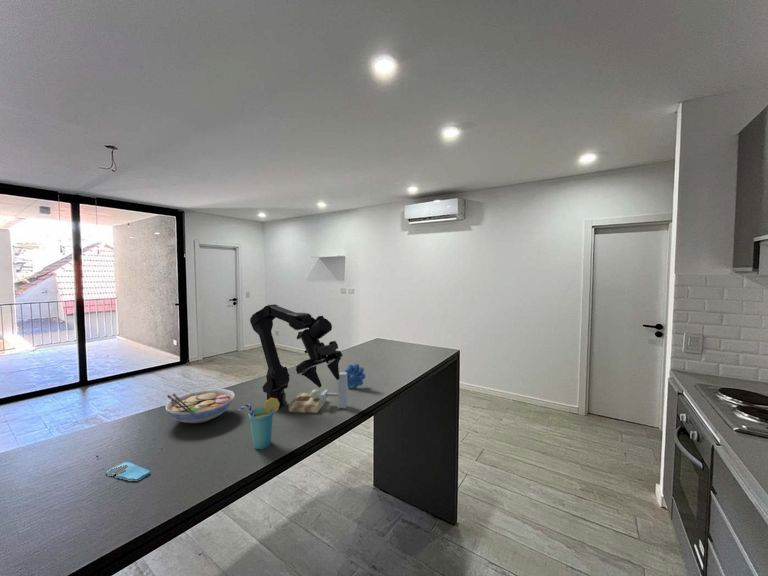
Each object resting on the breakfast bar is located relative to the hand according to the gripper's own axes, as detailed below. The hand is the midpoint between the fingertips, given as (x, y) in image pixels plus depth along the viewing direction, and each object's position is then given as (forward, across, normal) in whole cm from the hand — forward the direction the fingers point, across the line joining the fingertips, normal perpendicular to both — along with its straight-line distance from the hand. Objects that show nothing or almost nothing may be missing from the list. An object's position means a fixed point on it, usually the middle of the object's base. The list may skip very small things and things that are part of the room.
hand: (329, 383), depth 115 cm
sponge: (-1, -52, +30) cm, 60 cm away
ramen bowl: (-11, -23, +44) cm, 51 cm away
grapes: (+4, +33, +21) cm, 39 cm away
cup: (+8, -23, +15) cm, 29 cm away
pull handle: (+8, +11, +15) cm, 20 cm away
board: (+2, +6, +24) cm, 25 cm away
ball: (0, +8, +18) cm, 20 cm away
